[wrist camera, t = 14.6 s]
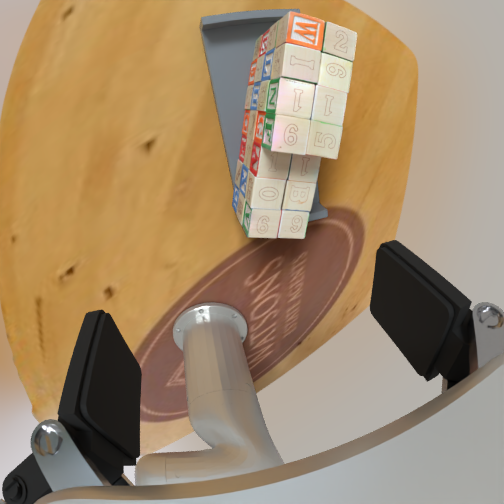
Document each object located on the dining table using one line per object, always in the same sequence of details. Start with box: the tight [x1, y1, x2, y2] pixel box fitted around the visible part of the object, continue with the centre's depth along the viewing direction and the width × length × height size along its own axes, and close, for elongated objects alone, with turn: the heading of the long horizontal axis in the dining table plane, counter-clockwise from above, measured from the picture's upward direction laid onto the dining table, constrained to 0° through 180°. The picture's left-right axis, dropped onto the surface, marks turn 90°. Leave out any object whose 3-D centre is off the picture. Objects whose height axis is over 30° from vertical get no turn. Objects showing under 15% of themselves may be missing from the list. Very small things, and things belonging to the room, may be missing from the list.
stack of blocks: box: [232, 11, 357, 239], centre depth 27 cm, size 21×6×12 cm, turn 172°
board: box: [200, 9, 328, 237], centre depth 31 cm, size 27×11×4 cm, turn 10°
